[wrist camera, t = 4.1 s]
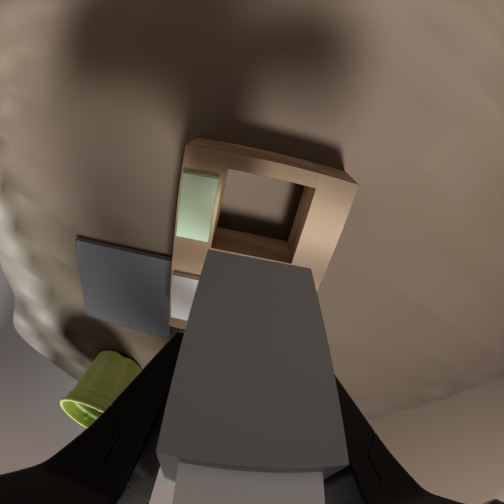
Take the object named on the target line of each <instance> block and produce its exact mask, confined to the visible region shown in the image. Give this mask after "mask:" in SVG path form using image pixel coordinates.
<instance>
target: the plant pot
mask: <svg viewBox="0 0 504 504" xmlns="http://www.w3.org/2000/svg"><path fill="white" fill-rule="evenodd" d="M141 371H142V370H141V368H140V367H139V366H138V365H137V364H136V363H135V362H134V361H133V360H132V359H130V358H125V357H123V356H121V355H120V354H119V353H118V352H115V351H102V352H100V353H99V354H98V355H97V357H96V358H95V360H94V361H93V363H92V364H91V366H90V367H89V368H88V370H87V371H86V373H85V374H84V376H83V377H82V378H81V380H80V381H79V383H78V384H77V385H76V387H75V388H74V390H72V391H71V392H70V393H69V394H68V396H67V397H65V398H63V399H61V401H60V405H61V407H62V409H63V410H64V411H65V412H66V413H67V414H68V415H69V416H70V417H71V418H72V419H74V420H75V421H76V422H77V423H79V424H80V425H82V426H84V427H85V428H88V427H89V426H90V425H91V424H92V423H93V422H94V421H95V420H96V419H97V418H98V417H99V416H100V415H101V414H102V413H103V412H104V411H105V410H106V409H107V408H108V407H109V405H112V402H113V401H114V400H115V399H116V398H117V397H118V396H119V395H120V394H121V393H122V391H123V390H124V389H125V388H126V387H127V386H128V385H129V384H130V383H131V382H132V381H133V379H134V378H135V377H136V376H137V375H138V374H139V373H140V372H141Z"/></svg>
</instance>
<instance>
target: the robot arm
mask: <svg viewBox="0 0 504 504" xmlns="http://www.w3.org/2000/svg"><path fill="white" fill-rule="evenodd" d="M183 335H184V332H182V331H178V332H177V333H176V334H175V335H174V336H173V337H172V338H171V339H170V340H169V341H168V342H167V343H166V345H165V346H164V347H163V348H162V349H161V350H160V351H159V352H158V353H157V354H156V355H155V357H154V358H153V359H152V360H151V361H150V362H149V363H148V364H147V365H146V366H145V367H144V369H143V370H142V371H141V372H140V373H139V374H138V375H137V376H136V377H135V378H134V379H133V381H132V382H131V383H130V384H129V385H128V386H127V387H126V388H125V389H124V390H123V391H122V393H121V394H120V395H119V396H118V397H117V398H116V399H115V400H114V401H113V402H112V405H109V407H108V408H107V409H106V410H105V411H104V412H103V413H102V414H101V415H100V416H99V417H98V418H97V419H96V420H95V421H94V422H93V423H92V424H91V425H90V426H89V427H88V428H87V429H85V430H84V431H83V432H82V433H81V434H80V435H79V436H77V437H76V438H75V439H74V440H72V441H71V442H70V443H69V444H67V445H66V446H65V447H64V448H63V449H61V450H60V451H59V452H57V453H56V454H55V455H54V456H52V457H51V458H49V459H48V460H46V461H44V462H43V463H40V464H38V465H35V466H32V467H29V468H25V469H21V470H18V471H14V472H10V473H6V474H2V475H0V504H149V503H148V502H149V501H150V497H151V494H152V491H153V487H154V484H155V480H156V477H157V474H158V471H159V467H160V463H159V460H158V457H157V454H156V449H157V444H158V439H159V435H160V430H161V426H162V421H163V417H164V412H165V408H166V404H167V399H168V395H169V391H170V387H171V383H172V379H173V374H174V370H175V366H176V362H177V359H178V355H179V351H180V347H181V343H182V339H183ZM334 375H335V374H334ZM335 380H336V386H337V391H338V397H339V402H340V408H341V414H342V420H343V426H344V432H345V439H346V446H347V452H348V460H349V465H348V466H347V467H345V468H343V469H342V470H340V471H338V472H336V473H335V474H333V475H331V476H329V477H327V478H326V479H324V480H323V483H324V496H325V504H463V503H460V502H456V501H453V500H450V499H446V498H443V497H440V496H437V495H434V494H432V493H429V492H428V491H426V490H424V489H423V488H422V487H421V486H420V485H419V484H418V483H417V482H416V481H415V480H414V479H413V478H412V477H411V476H410V475H409V474H408V472H407V471H406V470H405V469H404V468H403V467H402V466H401V465H400V464H399V462H398V461H397V460H396V459H395V458H394V457H393V455H392V454H391V453H390V452H389V450H388V449H387V448H386V446H385V445H384V444H383V442H382V441H381V440H380V439H379V437H378V435H377V434H376V433H375V432H374V430H373V428H372V427H371V426H370V424H369V423H368V421H367V420H366V419H365V417H364V416H363V414H362V413H361V411H360V410H359V409H358V407H357V406H356V404H355V403H354V401H353V400H352V399H351V397H350V396H349V394H348V393H347V391H346V390H345V389H344V387H343V386H342V384H341V383H340V381H339V380H338V379H337V377H336V376H335ZM374 433H375V434H374ZM484 504H504V502H502V501H500V500H498V499H493V500H490V501H488V502H486V503H484Z"/></svg>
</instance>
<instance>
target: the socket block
mask: <svg viewBox="0 0 504 504" xmlns="http://www.w3.org/2000/svg"><path fill="white" fill-rule="evenodd" d="M228 168H229V169H234V170H239V171H244V172H248V173H253V174H258V175H262V176H267V177H271V178H276V179H280V180H284V181H288V182H293V183H297V184H301V185H305V186H304V190H303V193H302V196H301V200H300V203H299V206H298V210H297V213H296V216H295V219H294V223H293V226H292V229H291V232H290V235H289V239H288V241H284V240H279V239H274V238H270V237H265V236H260V235H255V234H250V233H245V232H240V231H235V230H230V229H225V228H220V227H217V225H218V219H219V214H220V208H221V203H222V198H223V192H224V187H225V182H226V177H227V172H228ZM358 186H359V185H358V184H357V183H356V182H355V181H354V180H353V179H352V178H351V177H350V176H349V175H348V174H347V173H346V172H345V171H343V170H339V169H336V168H332V167H329V166H325V165H322V164H318V163H315V162H311V161H307V160H303V159H300V158H296V157H292V156H288V155H284V154H279V153H275V152H271V151H266V150H262V149H257V148H253V147H248V146H243V145H238V144H233V143H228V142H222V141H217V140H211V139H205V138H199V137H196V138H195V139H193V140H192V141H190V142H189V143H188V144H186V145H185V151H184V158H183V165H182V172H181V180H180V188H179V196H178V205H177V214H176V224H175V234H174V246H173V258H172V273H171V290H170V313H169V326H171V327H176V328H180V329H185V328H186V324H187V321H188V317H189V313H190V310H191V306H192V303H193V299H194V295H195V292H196V288H197V285H198V281H199V278H200V275H201V271H202V268H203V264H204V261H205V258H206V254H207V251H208V249H210V250H215V251H220V252H226V253H231V254H236V255H242V256H247V257H252V258H258V259H263V260H268V261H274V262H279V263H284V264H290V265H295V266H300V267H306V268H311V271H312V275H313V279H314V283H315V287H316V291H317V290H318V288H319V285H320V283H321V281H322V278H323V276H324V274H325V271H326V269H327V267H328V264H329V262H330V259H331V257H332V254H333V252H334V250H335V247H336V245H337V242H338V240H339V237H340V234H341V232H342V229H343V227H344V224H345V221H346V219H347V216H348V213H349V211H350V208H351V205H352V203H353V200H354V197H355V194H356V191H357V189H358Z"/></svg>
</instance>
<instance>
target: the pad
mask: <svg viewBox="0 0 504 504" xmlns="http://www.w3.org/2000/svg"><path fill="white" fill-rule="evenodd" d="M75 243H76V251H77V259H78V266H79V272H80V278H81V284H82V289H83V295H84V300H85V304H86V309H87V314H88V316H91V317H94V318H97V319H100V320H104V321H107V322H111V323H114V324H118V325H121V326H125V327H128V328H132V329H136V330H140V331H144V332H148V333H152V334H156V335H160V336H164V337H168V338H169V337H170V333H171V326H169V313H170V290H171V273H172V258H171V257H166V256H162V255H157V254H152V253H148V252H143V251H138V250H134V249H129V248H125V247H120V246H115V245H111V244H106V243H102V242H98V241H93V240H89V239H84V238H80V237H78V238H76V239H75Z"/></svg>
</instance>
